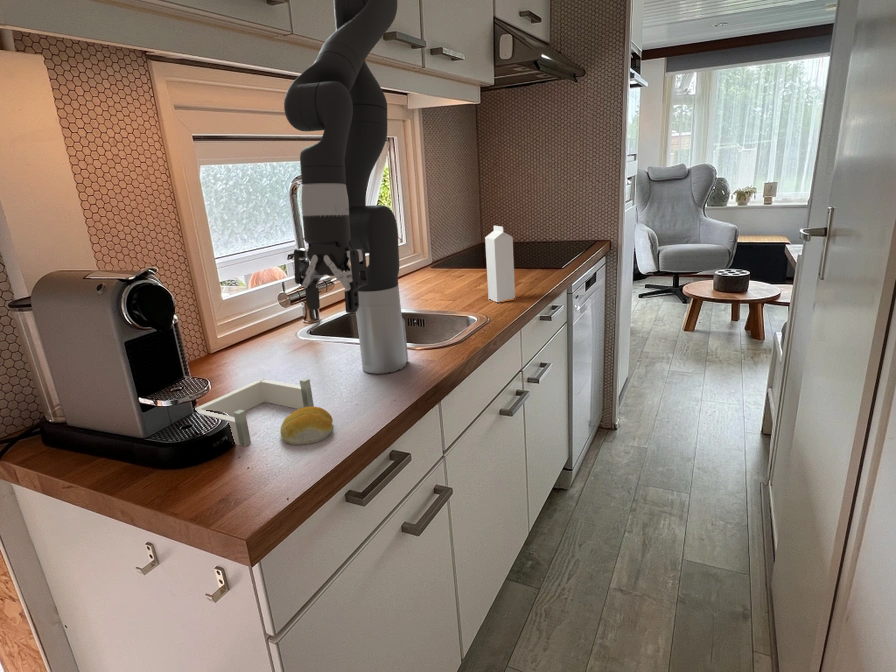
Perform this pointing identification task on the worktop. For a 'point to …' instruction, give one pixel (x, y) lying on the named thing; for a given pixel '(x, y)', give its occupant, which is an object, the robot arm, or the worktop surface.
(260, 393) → the holder
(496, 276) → the milk
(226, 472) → the worktop surface
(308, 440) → the bread roll
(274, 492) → the worktop surface
